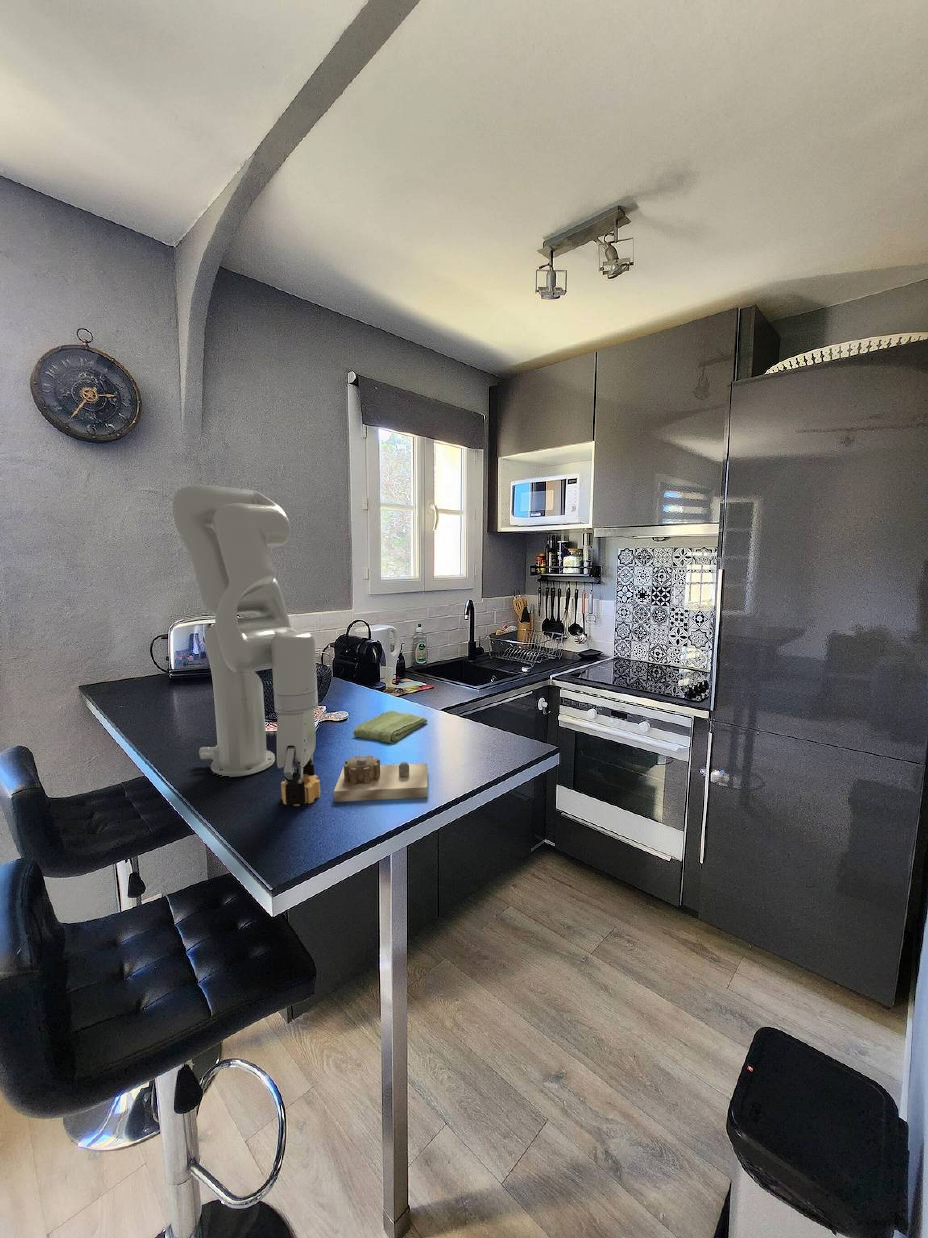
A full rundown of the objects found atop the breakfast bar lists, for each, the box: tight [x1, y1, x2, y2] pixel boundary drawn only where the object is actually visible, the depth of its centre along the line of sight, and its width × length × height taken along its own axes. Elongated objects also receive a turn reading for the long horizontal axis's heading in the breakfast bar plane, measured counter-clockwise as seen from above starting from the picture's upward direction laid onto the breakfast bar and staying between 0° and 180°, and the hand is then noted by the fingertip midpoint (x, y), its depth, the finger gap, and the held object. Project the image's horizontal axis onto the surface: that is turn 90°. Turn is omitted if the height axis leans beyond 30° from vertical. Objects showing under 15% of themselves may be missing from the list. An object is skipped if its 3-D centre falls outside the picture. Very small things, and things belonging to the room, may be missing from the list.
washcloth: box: [352, 710, 429, 744], centre depth 130 cm, size 13×18×3 cm
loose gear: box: [280, 774, 321, 807], centre depth 93 cm, size 7×7×3 cm
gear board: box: [333, 755, 429, 803], centre depth 97 cm, size 17×11×6 cm, turn 94°
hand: (301, 793), depth 93 cm, fingers closed on loose gear, 6 cm apart
